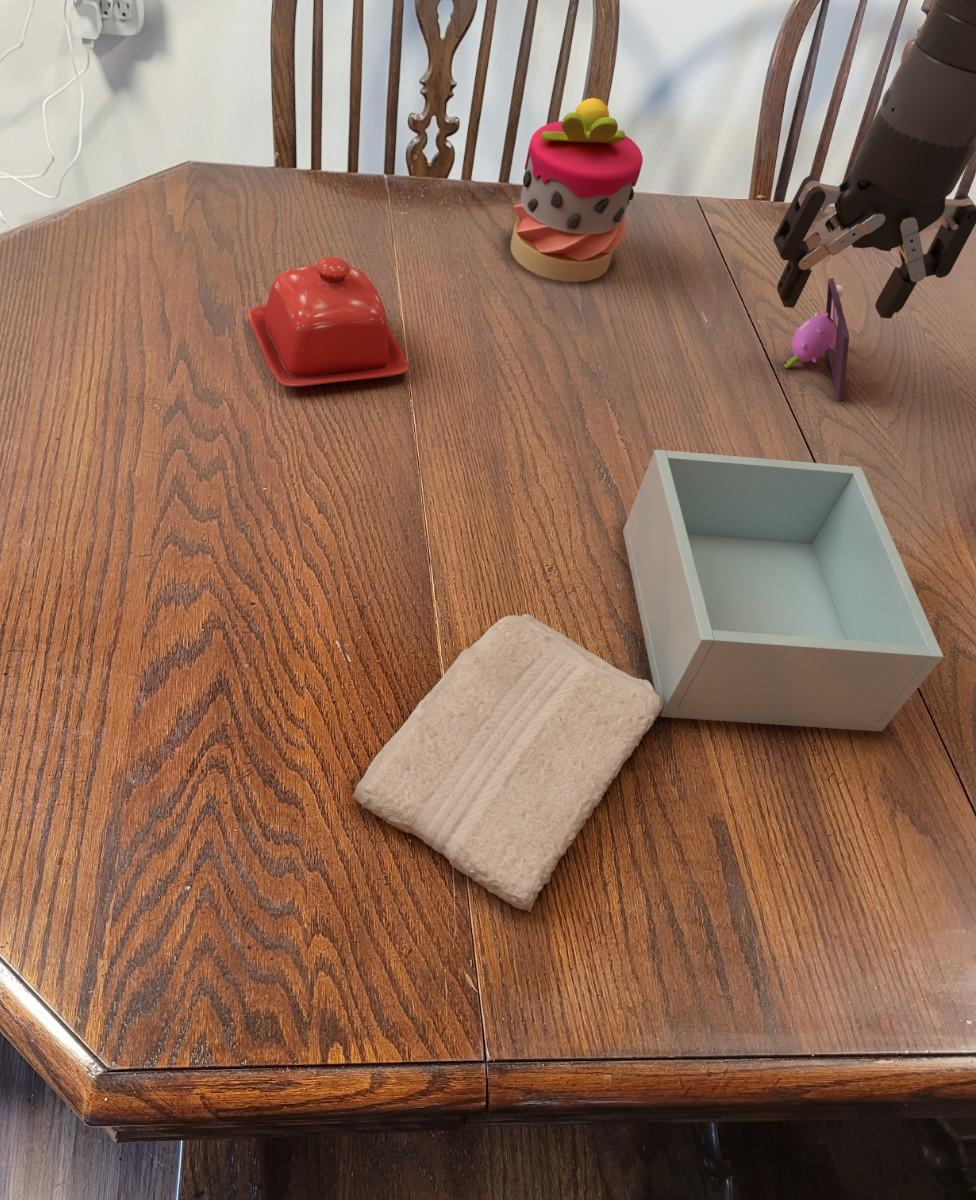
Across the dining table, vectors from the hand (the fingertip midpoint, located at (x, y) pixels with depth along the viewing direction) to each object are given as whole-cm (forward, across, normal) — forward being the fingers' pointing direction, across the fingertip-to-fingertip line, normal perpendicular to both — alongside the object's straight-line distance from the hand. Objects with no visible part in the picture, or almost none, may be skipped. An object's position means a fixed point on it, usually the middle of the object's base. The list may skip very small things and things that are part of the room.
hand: (834, 307), depth 89 cm
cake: (+7, -20, +15) cm, 26 cm away
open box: (+6, -13, -31) cm, 34 cm away
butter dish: (+7, -43, -4) cm, 43 cm away
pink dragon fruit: (+6, 0, 0) cm, 6 cm away
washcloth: (+7, -30, -43) cm, 53 cm away
